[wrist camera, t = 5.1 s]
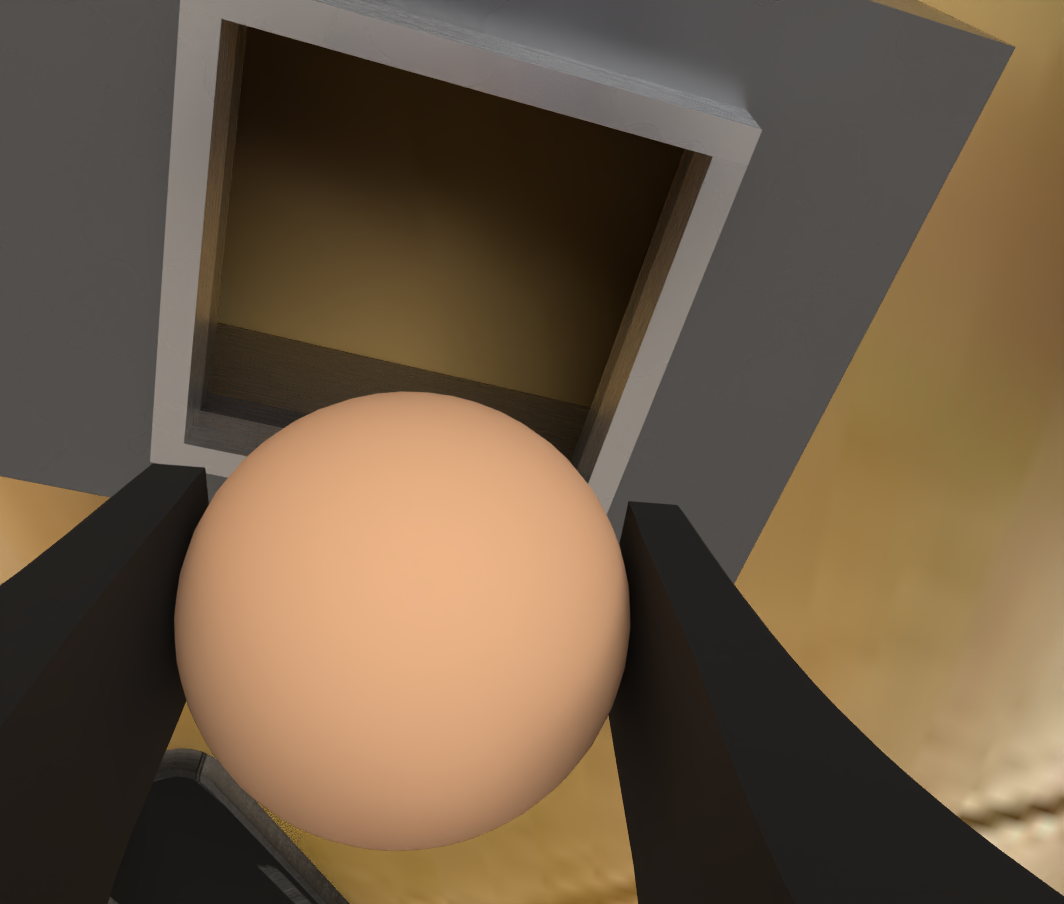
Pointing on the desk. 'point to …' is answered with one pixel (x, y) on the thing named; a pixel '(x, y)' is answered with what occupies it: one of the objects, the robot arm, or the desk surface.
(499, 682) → the bead
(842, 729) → the robot arm
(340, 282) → the desk surface
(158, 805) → the phone
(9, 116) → the grey box with opening
